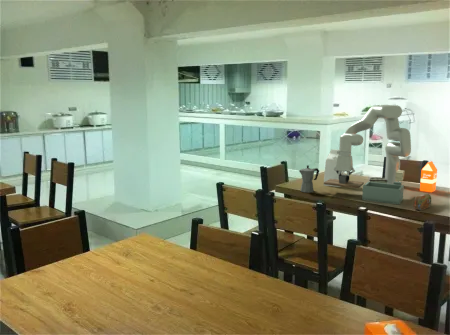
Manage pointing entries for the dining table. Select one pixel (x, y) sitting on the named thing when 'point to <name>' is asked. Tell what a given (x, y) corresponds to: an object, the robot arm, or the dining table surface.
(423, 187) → the orange juice
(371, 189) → the toolbox
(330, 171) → the milk
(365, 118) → the robot arm
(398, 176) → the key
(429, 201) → the tin
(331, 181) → the lid
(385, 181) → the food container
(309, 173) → the coffeepot
